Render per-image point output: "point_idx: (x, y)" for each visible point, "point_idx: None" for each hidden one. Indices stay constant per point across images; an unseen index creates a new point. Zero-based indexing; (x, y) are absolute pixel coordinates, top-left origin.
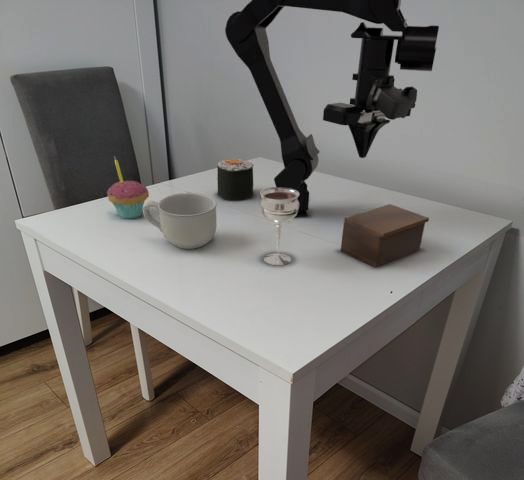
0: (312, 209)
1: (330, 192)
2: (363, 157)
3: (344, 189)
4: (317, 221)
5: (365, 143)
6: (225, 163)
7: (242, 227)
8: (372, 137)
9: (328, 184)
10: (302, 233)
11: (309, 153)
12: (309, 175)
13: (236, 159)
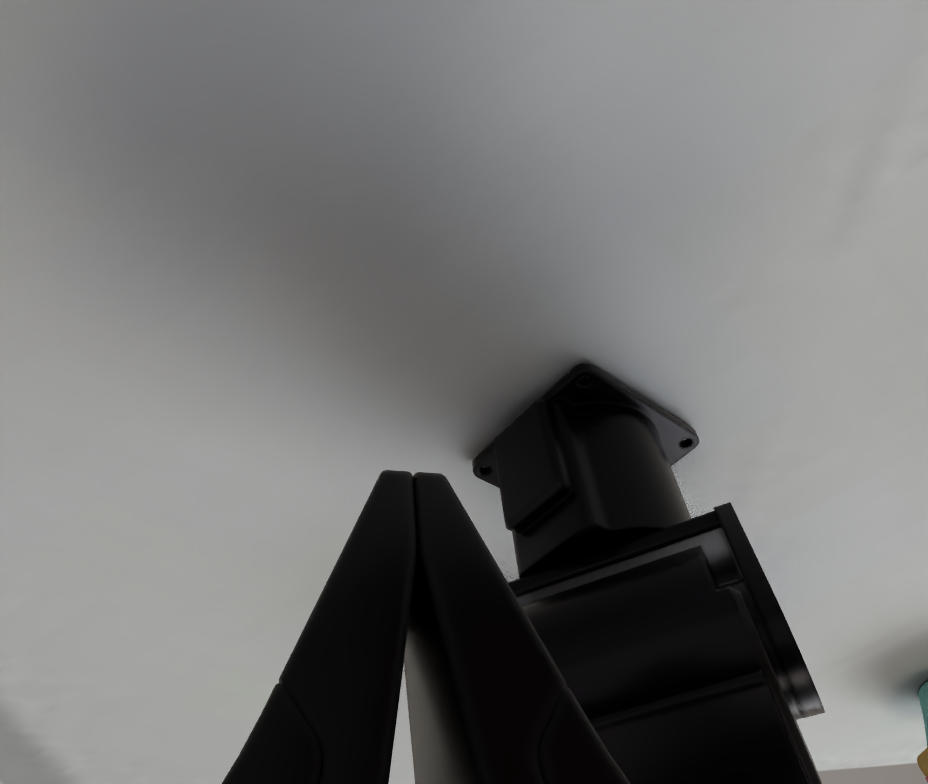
0: (457, 407)
1: (139, 507)
2: (428, 474)
3: (13, 497)
4: (614, 274)
5: (507, 655)
6: None
7: (914, 444)
8: (337, 749)
9: (55, 577)
10: (860, 208)
11: (778, 742)
12: (704, 562)
13: None
